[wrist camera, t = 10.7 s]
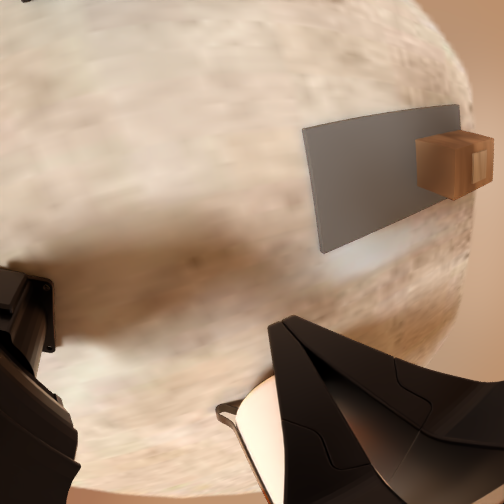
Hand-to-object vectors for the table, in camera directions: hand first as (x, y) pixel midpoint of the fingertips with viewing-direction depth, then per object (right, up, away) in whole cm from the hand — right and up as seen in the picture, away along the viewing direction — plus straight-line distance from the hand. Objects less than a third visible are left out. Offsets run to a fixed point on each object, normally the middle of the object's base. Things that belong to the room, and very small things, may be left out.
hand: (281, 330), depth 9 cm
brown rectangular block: (+15, +9, +14) cm, 22 cm away
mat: (+12, +10, +16) cm, 22 cm away
